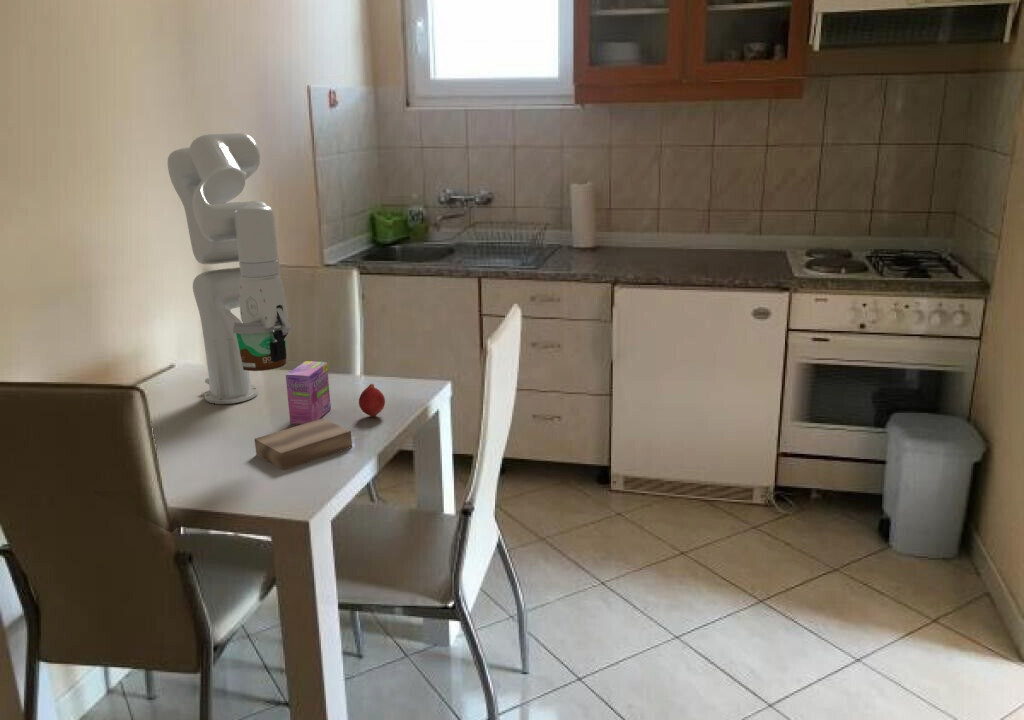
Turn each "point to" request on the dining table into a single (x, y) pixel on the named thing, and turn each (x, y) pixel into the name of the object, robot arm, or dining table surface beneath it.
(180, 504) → the dining table surface
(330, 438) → the brown flat block
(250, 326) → the food container
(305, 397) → the box
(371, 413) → the onion
